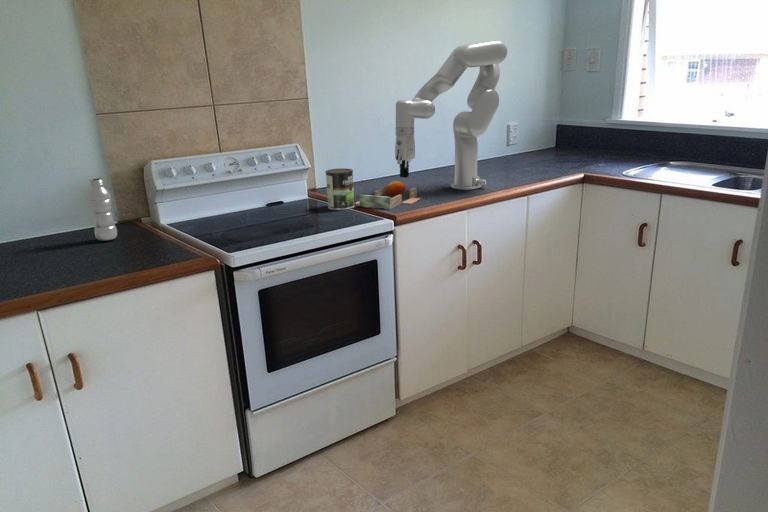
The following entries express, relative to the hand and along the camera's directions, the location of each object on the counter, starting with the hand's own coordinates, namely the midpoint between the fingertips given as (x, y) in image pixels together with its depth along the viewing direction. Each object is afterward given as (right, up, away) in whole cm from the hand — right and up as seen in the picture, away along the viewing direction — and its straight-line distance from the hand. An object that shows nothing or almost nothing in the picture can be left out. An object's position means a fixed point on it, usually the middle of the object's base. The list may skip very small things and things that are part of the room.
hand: (404, 176), depth 242 cm
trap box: (-6, -11, -11) cm, 17 cm away
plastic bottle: (-99, -28, -51) cm, 114 cm away
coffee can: (-25, -14, -18) cm, 33 cm away
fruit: (-3, -10, -6) cm, 12 cm away
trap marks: (-6, -11, -11) cm, 17 cm away
